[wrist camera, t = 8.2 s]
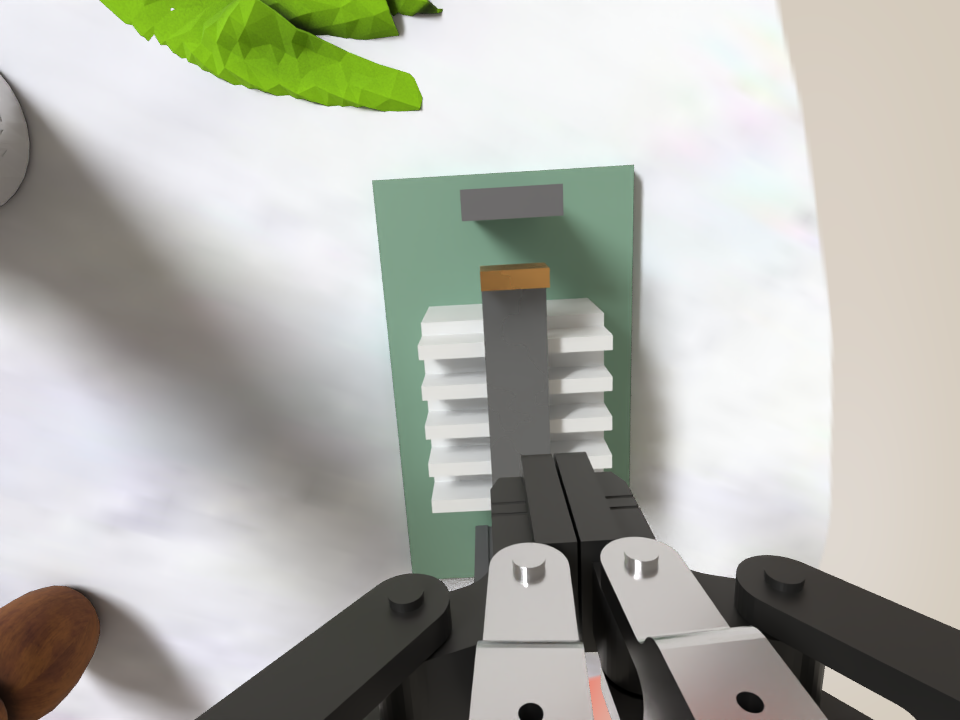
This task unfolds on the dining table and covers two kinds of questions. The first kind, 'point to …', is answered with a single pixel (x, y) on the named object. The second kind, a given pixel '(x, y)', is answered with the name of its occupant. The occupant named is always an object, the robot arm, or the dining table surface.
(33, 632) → the wooden figurine
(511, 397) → the wood-capped grey post
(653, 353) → the dining table surface
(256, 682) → the robot arm
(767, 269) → the dining table surface
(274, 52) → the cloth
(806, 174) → the dining table surface
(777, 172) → the dining table surface
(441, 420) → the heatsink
